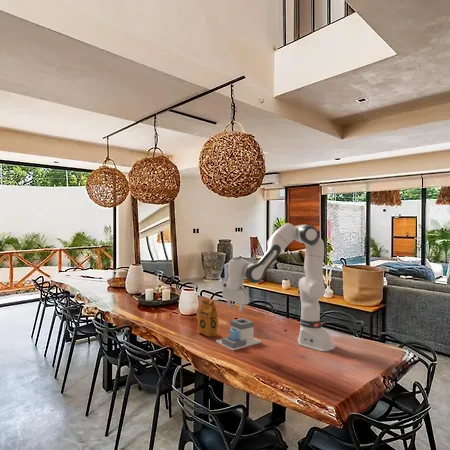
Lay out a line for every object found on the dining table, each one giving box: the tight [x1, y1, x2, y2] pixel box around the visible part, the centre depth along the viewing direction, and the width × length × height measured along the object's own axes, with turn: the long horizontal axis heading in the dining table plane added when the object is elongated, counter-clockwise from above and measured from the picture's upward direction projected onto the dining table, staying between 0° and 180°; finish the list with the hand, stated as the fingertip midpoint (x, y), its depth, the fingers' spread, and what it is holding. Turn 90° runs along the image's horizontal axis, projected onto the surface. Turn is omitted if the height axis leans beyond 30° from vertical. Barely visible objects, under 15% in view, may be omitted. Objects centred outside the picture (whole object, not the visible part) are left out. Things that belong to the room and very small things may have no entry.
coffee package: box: [197, 298, 219, 338], centre depth 217 cm, size 10×12×22 cm
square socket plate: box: [215, 317, 262, 351], centre depth 204 cm, size 16×22×11 cm
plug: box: [228, 328, 240, 341], centre depth 198 cm, size 4×4×9 cm
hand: (235, 309), depth 198 cm, fingers open, 8 cm apart
